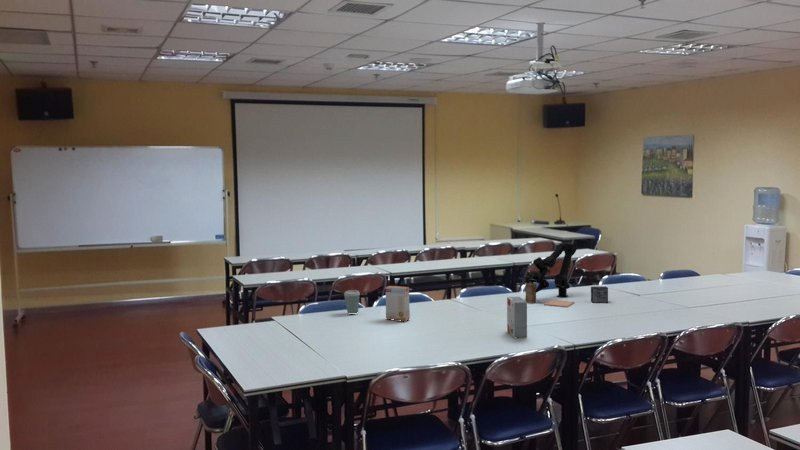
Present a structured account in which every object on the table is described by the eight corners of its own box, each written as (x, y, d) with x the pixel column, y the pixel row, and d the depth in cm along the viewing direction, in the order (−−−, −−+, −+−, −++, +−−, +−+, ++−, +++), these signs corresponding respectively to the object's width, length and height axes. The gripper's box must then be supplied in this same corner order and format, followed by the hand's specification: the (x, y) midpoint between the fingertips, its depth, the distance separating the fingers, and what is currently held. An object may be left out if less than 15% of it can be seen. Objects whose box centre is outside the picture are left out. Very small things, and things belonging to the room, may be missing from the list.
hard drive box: (506, 331, 369) (506, 296, 368) (519, 330, 370) (519, 296, 368) (513, 338, 354) (513, 302, 352) (527, 337, 355) (527, 301, 353)
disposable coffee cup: (358, 316, 413) (357, 293, 412) (342, 315, 415) (341, 292, 414) (362, 312, 423) (362, 289, 422) (346, 312, 426) (346, 289, 424)
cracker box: (410, 320, 400) (409, 286, 398) (405, 322, 394) (404, 288, 393) (390, 318, 407) (390, 285, 405) (385, 320, 402) (385, 286, 400)
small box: (606, 301, 446) (606, 286, 445) (608, 303, 440) (608, 287, 439) (590, 301, 447) (590, 286, 447) (592, 303, 441) (592, 287, 440)
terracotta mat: (551, 300, 450) (551, 299, 450) (574, 303, 441) (574, 301, 441) (544, 305, 436) (544, 303, 436) (567, 307, 428) (567, 306, 428)
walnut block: (530, 301, 449) (530, 282, 448) (536, 302, 445) (536, 283, 444) (525, 302, 446) (525, 283, 445) (531, 303, 442) (531, 284, 441)
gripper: (526, 264, 454) (514, 282, 449) (546, 267, 439) (535, 285, 434) (533, 274, 460) (522, 292, 454) (554, 278, 445) (543, 296, 439)
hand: (530, 291), depth 445 cm, fingers open, 9 cm apart
